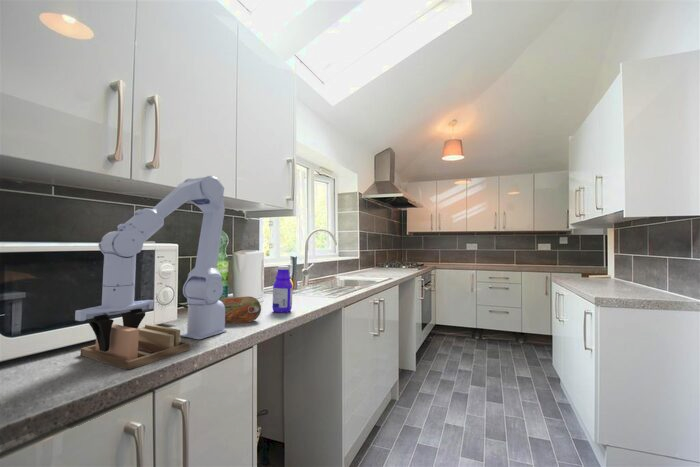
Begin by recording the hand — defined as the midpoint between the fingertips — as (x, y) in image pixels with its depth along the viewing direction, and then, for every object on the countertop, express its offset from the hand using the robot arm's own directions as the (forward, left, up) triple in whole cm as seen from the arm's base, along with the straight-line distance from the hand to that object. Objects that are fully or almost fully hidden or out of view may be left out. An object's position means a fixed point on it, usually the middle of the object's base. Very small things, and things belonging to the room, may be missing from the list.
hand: (116, 347), depth 67 cm
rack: (-5, 0, -2) cm, 6 cm away
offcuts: (-9, 0, -2) cm, 9 cm away
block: (0, 0, -2) cm, 2 cm away
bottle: (-56, +2, -3) cm, 56 cm away
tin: (-36, -1, -3) cm, 36 cm away
